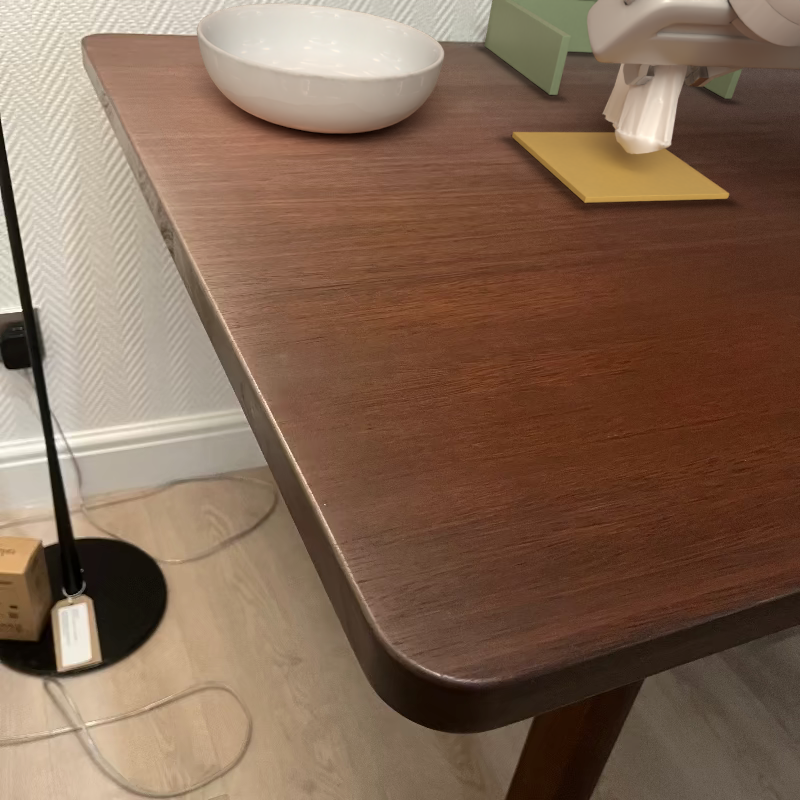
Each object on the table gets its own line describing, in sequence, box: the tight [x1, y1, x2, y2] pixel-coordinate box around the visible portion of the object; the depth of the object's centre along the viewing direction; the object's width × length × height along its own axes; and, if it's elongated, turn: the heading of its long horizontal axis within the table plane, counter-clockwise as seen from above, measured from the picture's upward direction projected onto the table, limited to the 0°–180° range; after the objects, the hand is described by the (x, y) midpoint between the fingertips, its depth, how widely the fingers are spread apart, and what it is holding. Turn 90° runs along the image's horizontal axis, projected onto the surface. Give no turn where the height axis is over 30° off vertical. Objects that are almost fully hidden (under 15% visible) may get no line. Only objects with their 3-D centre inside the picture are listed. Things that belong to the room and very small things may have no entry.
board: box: [511, 131, 730, 204], centre depth 71 cm, size 14×14×1 cm
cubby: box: [483, 0, 744, 100], centre depth 95 cm, size 24×18×7 cm
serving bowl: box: [196, 2, 445, 134], centre depth 71 cm, size 21×21×7 cm
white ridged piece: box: [601, 63, 687, 154], centre depth 67 cm, size 12×4×11 cm, turn 173°
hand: (661, 77), depth 65 cm, fingers closed on white ridged piece, 4 cm apart
